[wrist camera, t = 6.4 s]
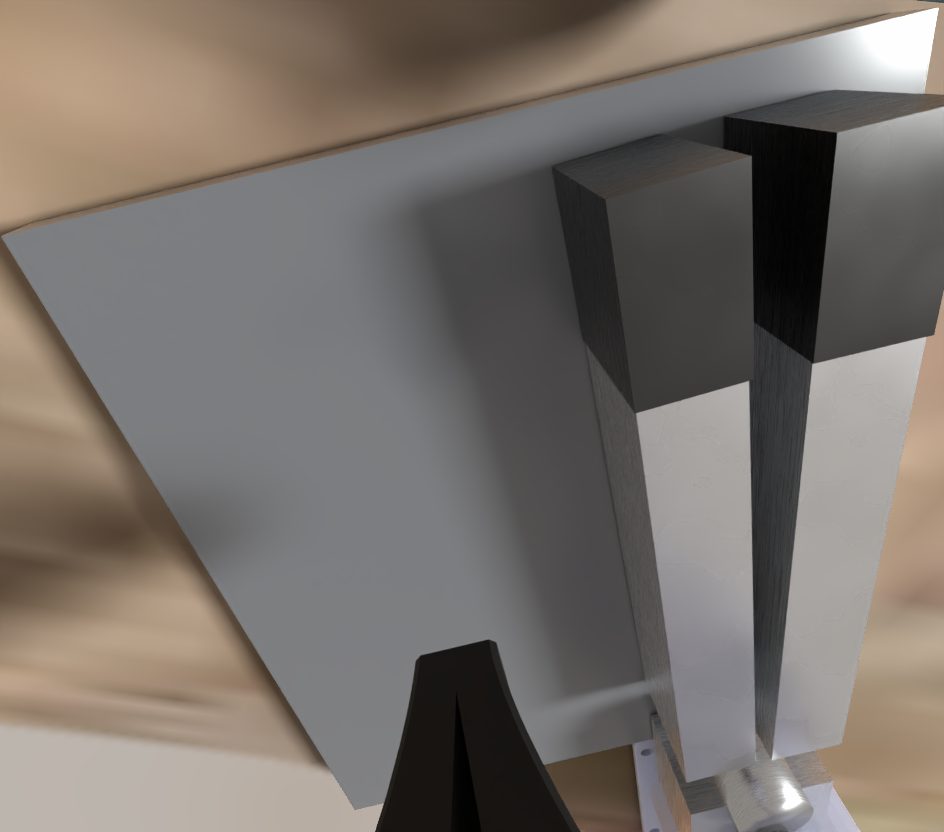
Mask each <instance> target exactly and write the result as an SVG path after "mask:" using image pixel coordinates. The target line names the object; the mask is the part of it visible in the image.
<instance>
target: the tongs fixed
mask: <svg viewBox="0 0 944 832" xmlns="http://www.w3.org/2000/svg"><path fill="white" fill-rule="evenodd" d="M724 149H725V150H729V151H733V152H738V153H742V154H746V155H750V156H752V228H753V308H754V380H751V381H749V405H750V461H751V517H752V573H753V628H754V684H755V740H756V765H752V766H748V767H745V768H741V769H737V770H733V771H729V772H726V773H722V774H718V775H714V776H711V777H707V778H703V779H699V780H695V781H692V782H688V783H687V782H686V780H685V778H684V775H683V773H682V770H681V768H680V765H679V763H678V761H677V758H676V756H675V753H674V751H673V748H672V746H671V744H670V741H669V739H668V736H667V734H666V732H665V729H664V727H663V724H662V722H661V719H660V717H659V715H658V714H654V715H651V722H652V733H653V745H654V757H655V768H656V773H657V776H658V778H659V781H660V784H661V786H662V789H663V792H664V794H665V797H666V800H667V802H668V805H669V808H670V810H671V813H672V816H673V818H674V821H675V824H676V826H677V829H678V832H823V829H824V825H825V820H826V815H827V810H828V806H829V801H830V796H831V791H832V786H833V782H834V781H833V779H832V777H831V776H830V774H829V773H828V771H827V769H826V768H825V766H824V765H823V763H822V761H821V760H820V758H819V757H818V755H817V753H816V752H815V750H818V749H822V748H827V747H831V746H835V745H839V744H841V743H842V739H843V734H844V729H845V724H846V719H847V715H848V710H849V705H850V700H851V696H852V691H853V686H854V681H855V676H856V672H857V667H858V662H859V657H860V652H861V648H862V643H863V638H864V633H865V629H866V624H867V619H868V614H869V609H870V605H871V600H872V595H873V590H874V586H875V581H876V576H877V571H878V566H879V562H880V557H881V552H882V547H883V542H884V538H885V533H886V528H887V523H888V519H889V514H890V509H891V504H892V499H893V495H894V490H895V485H896V480H897V475H898V471H899V466H900V461H901V456H902V452H903V447H904V442H905V437H906V432H907V428H908V423H909V418H910V413H911V409H912V404H913V399H914V394H915V389H916V385H917V380H918V375H919V370H920V365H921V361H922V356H923V351H924V346H925V342H926V337H927V336H932V335H934V332H935V328H936V323H937V318H938V314H939V309H940V305H941V300H942V295H943V291H944V95H938V94H917V93H897V92H876V91H856V90H835V89H834V90H830V91H826V92H822V93H817V94H813V95H809V96H805V97H801V98H797V99H793V100H789V101H785V102H780V103H776V104H772V105H768V106H764V107H760V108H756V109H752V110H748V111H743V112H739V113H735V114H731V115H727V116H724Z"/></svg>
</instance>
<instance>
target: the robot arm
mask: <svg viewBox="0 0 944 832" xmlns="http://www.w3.org/2000/svg"><path fill="white" fill-rule="evenodd" d="M632 747H633V756H634V764H635V773H636V781H637V789H638V798H639V806H640V815H641V823H642V831H643V832H678V829H677V826H676V824H675V821H674V818H673V816H672V813H671V810H670V808H669V805H668V802H667V800H666V797H665V794H664V792H663V789H662V786H661V784H660V781H659V778H658V776H657V773H656V768H655V757H654V745H653V739H651V740H647V741H642V742H638V743H634V744H632ZM375 832H580V830H579V829H578V827H577V825H576V824H575V822H574V820H573V818H572V816H571V815H570V813H569V811H568V809H567V808H566V806H565V804H564V802H563V800H562V799H561V797H560V795H559V793H558V791H557V790H556V788H555V786H554V784H553V782H552V780H551V778H550V776H549V774H548V773H547V771H546V769H545V767H544V765H543V763H542V761H541V758H540V756H539V754H538V752H537V750H536V748H535V746H534V744H533V742H532V740H531V738H530V736H529V734H528V732H527V730H526V728H525V725H524V723H523V721H522V719H521V716H520V714H519V712H518V709H517V707H516V704H515V702H514V699H513V697H512V695H511V692H510V688H509V685H508V681H507V678H506V674H505V671H504V667H503V664H502V660H501V657H500V653H499V650H498V646H497V643H496V642H494V641H492V640H490V639H488V640H484V641H479V642H475V643H471V644H467V645H462V646H458V647H454V648H450V649H446V650H441V651H437V652H433V653H429V654H424V655H420V656H419V658H418V659H417V660H416V662H415V669H414V677H413V683H412V689H411V695H410V700H409V705H408V710H407V715H406V719H405V724H404V728H403V733H402V737H401V741H400V746H399V749H398V753H397V757H396V761H395V765H394V768H393V772H392V776H391V780H390V783H389V787H388V791H387V795H386V798H385V802H384V805H383V809H382V812H381V815H380V818H379V821H378V824H377V827H376V831H375ZM823 832H860V830H859V829H858V827H857V825H856V824H855V822H854V820H853V819H852V817H851V816H850V814H849V812H848V811H847V809H846V807H845V806H844V804H843V803H842V801H841V799H840V798H839V796H838V794H837V793H836V791H835V790H834V788H833V786H832V791H831V796H830V801H829V806H828V810H827V815H826V820H825V825H824V829H823Z"/></svg>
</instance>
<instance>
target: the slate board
mask: <svg viewBox="0 0 944 832" xmlns="http://www.w3.org/2000/svg"><path fill="white" fill-rule="evenodd" d="M937 13H938V8H931V9H922V10H913V11H904V12H895V13H890V14H886V15H882V16H878V17H874V18H870V19H866V20H861V21H857V22H853V23H849V24H845V25H841V26H837V27H833V28H829V29H825V30H820V31H816V32H812V33H808V34H804V35H800V36H796V37H792V38H788V39H784V40H779V41H775V42H771V43H767V44H763V45H759V46H755V47H751V48H747V49H743V50H738V51H734V52H730V53H726V54H722V55H718V56H714V57H710V58H706V59H702V60H697V61H693V62H689V63H685V64H681V65H677V66H673V67H669V68H665V69H660V70H656V71H652V72H648V73H644V74H640V75H636V76H632V77H628V78H624V79H619V80H615V81H611V82H607V83H603V84H599V85H595V86H591V87H587V88H583V89H578V90H574V91H570V92H566V93H562V94H558V95H554V96H550V97H546V98H542V99H537V100H533V101H529V102H525V103H521V104H517V105H513V106H509V107H505V108H501V109H496V110H492V111H488V112H484V113H480V114H476V115H472V116H468V117H464V118H459V119H455V120H451V121H447V122H443V123H439V124H435V125H431V126H427V127H423V128H418V129H414V130H410V131H406V132H402V133H398V134H394V135H390V136H386V137H382V138H377V139H373V140H369V141H365V142H361V143H357V144H353V145H349V146H345V147H341V148H336V149H332V150H328V151H324V152H320V153H316V154H312V155H308V156H304V157H300V158H295V159H291V160H287V161H283V162H279V163H275V164H271V165H267V166H263V167H259V168H254V169H250V170H246V171H242V172H238V173H234V174H230V175H226V176H222V177H217V178H213V179H209V180H205V181H201V182H197V183H193V184H189V185H185V186H181V187H176V188H172V189H168V190H164V191H160V192H156V193H152V194H148V195H144V196H140V197H135V198H131V199H127V200H123V201H119V202H115V203H111V204H107V205H103V206H99V207H94V208H90V209H86V210H82V211H78V212H74V213H70V214H66V215H62V216H58V217H53V218H49V219H45V220H41V221H37V222H33V223H30V224H28V225H26V226H23V227H21V228H19V229H16V230H14V231H12V232H9V233H7V234H5V235H2V236H1V237H2V239H3V241H4V242H5V244H6V246H7V247H8V249H9V250H10V252H11V254H12V255H13V257H14V259H15V260H16V262H17V263H18V265H19V267H20V268H21V270H22V271H23V273H24V275H25V276H26V278H27V280H28V281H29V283H30V284H31V286H32V288H33V289H34V291H35V293H36V294H37V296H38V297H39V299H40V301H41V302H42V304H43V305H44V307H45V309H46V310H47V312H48V314H49V315H50V317H51V318H52V320H53V322H54V323H55V325H56V327H57V328H58V330H59V331H60V333H61V335H62V336H63V338H64V339H65V341H66V343H67V344H68V346H69V348H70V349H71V351H72V352H73V354H74V356H75V357H76V359H77V361H78V362H79V364H80V365H81V367H82V369H83V370H84V372H85V374H86V375H87V377H88V378H89V380H90V382H91V383H92V385H93V386H94V388H95V390H96V391H97V393H98V395H99V396H100V398H101V399H102V401H103V403H104V404H105V406H106V408H107V409H108V411H109V412H110V414H111V416H112V417H113V419H114V420H115V422H116V424H117V425H118V427H119V429H120V430H121V432H122V433H123V435H124V437H125V438H126V440H127V442H128V443H129V445H130V446H131V448H132V450H133V451H134V453H135V454H136V456H137V458H138V459H139V461H140V463H141V464H142V466H143V467H144V469H145V471H146V472H147V474H148V476H149V477H150V479H151V480H152V482H153V484H154V485H155V487H156V488H157V490H158V492H159V493H160V495H161V497H162V498H163V500H164V501H165V503H166V505H167V506H168V508H169V510H170V511H171V513H172V514H173V516H174V518H175V519H176V521H177V523H178V524H179V526H180V527H181V529H182V531H183V532H184V534H185V535H186V537H187V539H188V540H189V542H190V544H191V545H192V547H193V548H194V550H195V552H196V553H197V555H198V557H199V558H200V560H201V561H202V563H203V565H204V566H205V568H206V569H207V571H208V573H209V574H210V576H211V578H212V579H213V581H214V582H215V584H216V586H217V587H218V589H219V591H220V592H221V594H222V595H223V597H224V599H225V600H226V602H227V603H228V605H229V607H230V608H231V610H232V612H233V613H234V615H235V616H236V618H237V620H238V621H239V623H240V625H241V626H242V628H243V629H244V631H245V633H246V634H247V636H248V638H249V639H250V641H251V642H252V644H253V646H254V647H255V649H256V650H257V652H258V654H259V655H260V657H261V659H262V660H263V662H264V663H265V665H266V667H267V668H268V670H269V672H270V673H271V675H272V676H273V678H274V680H275V681H276V683H277V684H278V686H279V688H280V689H281V691H282V693H283V694H284V696H285V697H286V699H287V701H288V702H289V704H290V706H291V707H292V709H293V710H294V712H295V714H296V715H297V717H298V718H299V720H300V722H301V723H302V725H303V727H304V728H305V730H306V731H307V733H308V735H309V736H310V738H311V740H312V741H313V743H314V744H315V746H316V748H317V749H318V751H319V752H320V754H321V756H322V757H323V759H324V761H325V762H326V764H327V765H328V767H329V769H330V770H331V772H332V774H333V775H334V777H335V778H336V780H337V782H338V783H339V785H340V787H341V788H342V790H343V791H344V793H345V795H346V796H347V798H348V799H349V801H350V803H351V804H352V806H353V808H354V809H355V810H356V809H361V808H365V807H369V806H373V805H377V804H382V803H384V802H385V798H386V795H387V791H388V787H389V783H390V780H391V776H392V772H393V768H394V765H395V761H396V757H397V753H398V749H399V746H400V741H401V737H402V733H403V728H404V724H405V719H406V715H407V710H408V705H409V700H410V695H411V689H412V683H413V677H414V669H415V662H416V660H417V659H418V658H419V656H420V655H424V654H429V653H433V652H437V651H441V650H446V649H450V648H454V647H458V646H462V645H467V644H471V643H475V642H479V641H484V640H488V639H490V640H492V641H494V642H496V643H497V646H498V650H499V653H500V657H501V660H502V664H503V667H504V671H505V674H506V678H507V681H508V685H509V688H510V692H511V695H512V697H513V699H514V702H515V704H516V707H517V709H518V712H519V714H520V716H521V719H522V721H523V723H524V725H525V728H526V730H527V732H528V734H529V736H530V738H531V740H532V742H533V744H534V746H535V748H536V750H537V752H538V754H539V756H540V758H541V761H542V763H543V765H546V764H550V763H554V762H558V761H563V760H567V759H571V758H575V757H579V756H584V755H588V754H592V753H596V752H600V751H605V750H609V749H613V748H617V747H621V746H626V745H630V744H634V743H638V742H642V741H647V740H651V739H653V733H652V722H651V715H654V714H658V712H657V710H656V707H655V705H654V702H653V700H652V698H651V695H650V693H649V690H648V688H647V686H646V683H645V678H644V672H643V666H642V661H641V655H640V650H639V644H638V638H637V633H636V627H635V621H634V616H633V610H632V604H631V599H630V593H629V587H628V582H627V576H626V570H625V565H624V559H623V554H622V548H621V542H620V537H619V531H618V525H617V520H616V514H615V508H614V503H613V497H612V491H611V486H610V480H609V474H608V469H607V463H606V457H605V452H604V446H603V441H602V435H601V429H600V424H599V418H598V412H597V407H596V401H595V395H594V390H593V384H592V378H591V373H590V367H589V361H588V356H587V350H586V344H585V342H584V341H583V339H582V334H581V328H580V323H579V317H578V312H577V306H576V300H575V295H574V289H573V284H572V278H571V273H570V267H569V261H568V256H567V250H566V245H565V239H564V233H563V228H562V222H561V217H560V211H559V206H558V200H557V194H556V189H555V183H554V178H553V172H552V166H554V165H558V164H561V163H564V162H568V161H571V160H574V159H578V158H581V157H584V156H588V155H591V154H594V153H597V152H601V151H604V150H607V149H611V148H614V147H617V146H621V145H624V144H627V143H631V142H634V141H637V140H641V139H644V138H647V137H651V136H654V135H657V134H664V135H668V136H672V137H676V138H680V139H684V140H688V141H692V142H697V143H701V144H705V145H709V146H713V147H717V148H721V149H724V116H727V115H731V114H735V113H739V112H743V111H748V110H752V109H756V108H760V107H764V106H768V105H772V104H776V103H780V102H785V101H789V100H793V99H797V98H801V97H805V96H809V95H813V94H817V93H822V92H826V91H830V90H834V89H835V90H856V91H876V92H897V93H917V94H924V90H925V84H926V78H927V72H928V66H929V60H930V54H931V48H932V42H933V37H934V31H935V25H936V19H937Z"/></svg>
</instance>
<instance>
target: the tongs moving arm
mask: <svg viewBox="0 0 944 832" xmlns="http://www.w3.org/2000/svg"><path fill="white" fill-rule="evenodd" d="M552 172H553V178H554V183H555V189H556V194H557V200H558V206H559V211H560V217H561V222H562V228H563V233H564V239H565V245H566V250H567V256H568V261H569V267H570V273H571V278H572V284H573V289H574V295H575V300H576V306H577V312H578V317H579V323H580V328H581V334H582V339H583V341H584V342H585V344H586V350H587V356H588V361H589V367H590V373H591V378H592V384H593V390H594V395H595V401H596V407H597V412H598V418H599V424H600V429H601V435H602V441H603V446H604V452H605V457H606V463H607V469H608V474H609V480H610V486H611V491H612V497H613V503H614V508H615V514H616V520H617V525H618V531H619V537H620V542H621V548H622V554H623V559H624V565H625V570H626V576H627V582H628V587H629V593H630V599H631V604H632V610H633V616H634V621H635V627H636V633H637V638H638V644H639V650H640V655H641V661H642V666H643V672H644V678H645V683H646V686H647V688H648V690H649V693H650V695H651V698H652V700H653V702H654V705H655V707H656V710H657V712H658V715H659V717H660V719H661V722H662V724H663V727H664V729H665V732H666V734H667V736H668V739H669V741H670V744H671V746H672V748H673V751H674V753H675V756H676V758H677V761H678V763H679V765H680V768H681V770H682V773H683V775H684V778H685V780H686V782H687V783H688V782H692V781H695V780H699V779H703V778H707V777H711V776H714V775H718V774H722V773H726V772H729V771H733V770H737V769H741V768H745V767H748V766H752V765H756V740H755V684H754V628H753V573H752V517H751V461H750V405H749V381H751V380H754V308H753V228H752V156H750V155H746V154H742V153H738V152H733V151H729V150H725V149H721V148H717V147H713V146H709V145H705V144H701V143H697V142H692V141H688V140H684V139H680V138H676V137H672V136H668V135H664V134H657V135H654V136H651V137H647V138H644V139H641V140H637V141H634V142H631V143H627V144H624V145H621V146H617V147H614V148H611V149H607V150H604V151H601V152H597V153H594V154H591V155H588V156H584V157H581V158H578V159H574V160H571V161H568V162H564V163H561V164H558V165H554V166H552Z"/></svg>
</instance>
